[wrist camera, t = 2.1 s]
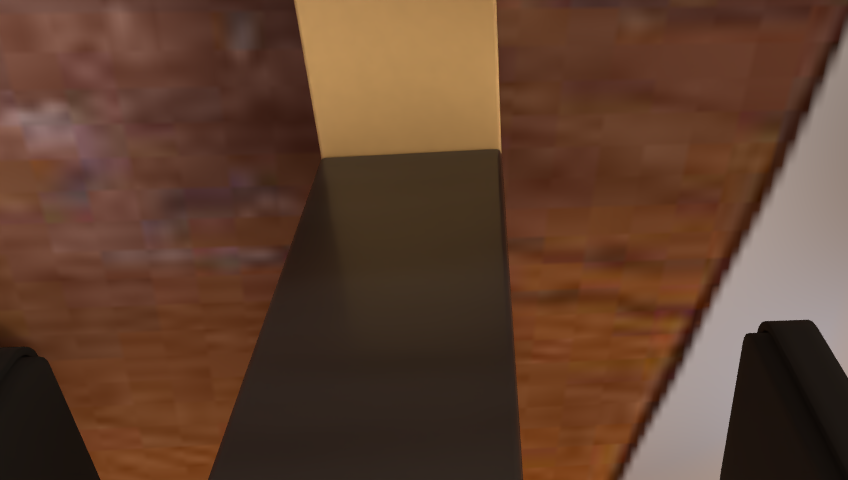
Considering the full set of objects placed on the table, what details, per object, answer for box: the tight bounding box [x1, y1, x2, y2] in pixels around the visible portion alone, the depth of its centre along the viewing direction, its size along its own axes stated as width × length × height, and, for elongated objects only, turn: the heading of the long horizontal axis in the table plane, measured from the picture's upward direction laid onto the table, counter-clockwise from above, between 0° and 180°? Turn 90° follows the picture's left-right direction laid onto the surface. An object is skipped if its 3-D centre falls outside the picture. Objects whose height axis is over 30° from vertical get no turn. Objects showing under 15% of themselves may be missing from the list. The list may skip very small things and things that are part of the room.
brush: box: [208, 0, 523, 480], centre depth 12 cm, size 12×3×10 cm, turn 5°
